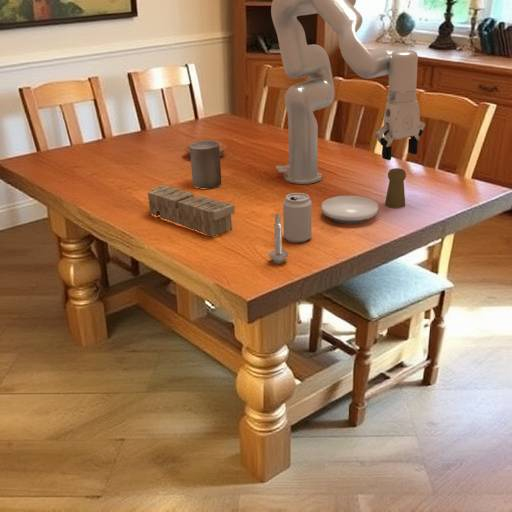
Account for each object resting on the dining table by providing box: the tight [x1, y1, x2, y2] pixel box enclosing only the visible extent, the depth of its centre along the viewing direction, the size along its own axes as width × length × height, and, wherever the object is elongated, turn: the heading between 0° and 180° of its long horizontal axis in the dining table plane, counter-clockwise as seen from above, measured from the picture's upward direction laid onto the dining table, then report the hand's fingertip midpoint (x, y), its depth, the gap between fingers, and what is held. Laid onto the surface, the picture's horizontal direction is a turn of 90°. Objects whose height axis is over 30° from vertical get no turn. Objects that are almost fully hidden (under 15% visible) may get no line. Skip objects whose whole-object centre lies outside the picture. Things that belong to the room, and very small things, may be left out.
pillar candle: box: [188, 140, 223, 189], centre depth 221 cm, size 10×10×15 cm
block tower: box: [147, 184, 235, 237], centre depth 194 cm, size 8×8×29 cm
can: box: [282, 192, 313, 244], centre depth 180 cm, size 8×8×12 cm
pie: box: [184, 139, 227, 157], centre depth 253 cm, size 16×16×5 cm
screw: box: [268, 212, 289, 265], centre depth 167 cm, size 13×5×5 cm
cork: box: [384, 167, 407, 209], centre depth 200 cm, size 6×6×11 cm
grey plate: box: [321, 195, 379, 225], centre depth 194 cm, size 16×16×4 cm
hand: (399, 156), depth 196 cm, fingers open, 9 cm apart
